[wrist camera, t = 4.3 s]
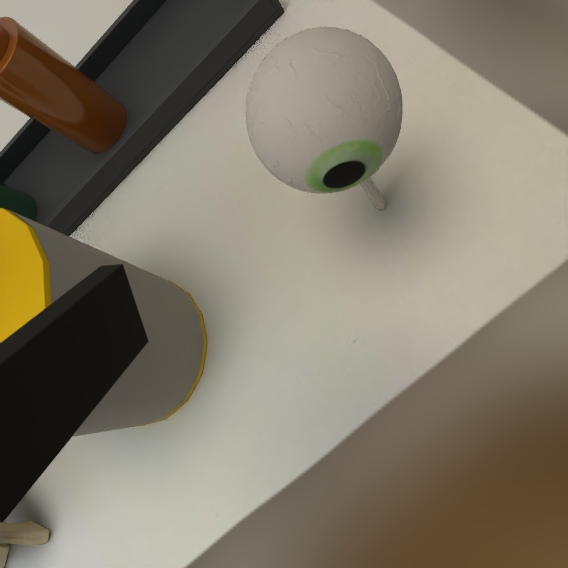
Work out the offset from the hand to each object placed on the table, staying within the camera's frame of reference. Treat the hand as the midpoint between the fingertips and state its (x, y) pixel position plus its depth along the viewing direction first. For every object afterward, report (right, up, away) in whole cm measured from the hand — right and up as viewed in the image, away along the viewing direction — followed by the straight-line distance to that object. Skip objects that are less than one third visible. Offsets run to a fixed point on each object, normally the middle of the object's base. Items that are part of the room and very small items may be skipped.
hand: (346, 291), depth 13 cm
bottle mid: (-19, +15, +32) cm, 40 cm away
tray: (-19, +15, +32) cm, 40 cm away
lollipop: (+5, +6, +19) cm, 20 cm away
